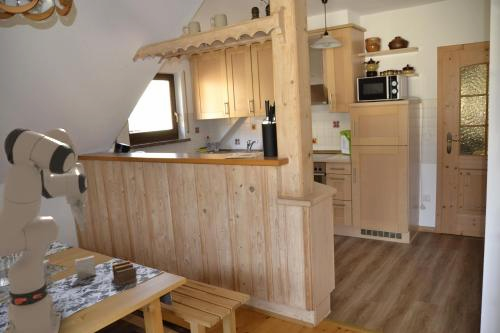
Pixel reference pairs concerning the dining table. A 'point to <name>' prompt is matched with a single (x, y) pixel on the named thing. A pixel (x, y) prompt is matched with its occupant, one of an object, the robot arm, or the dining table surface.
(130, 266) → the walnut rack
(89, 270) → the aluminium panel
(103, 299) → the dining table surface
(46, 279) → the light bulb box
